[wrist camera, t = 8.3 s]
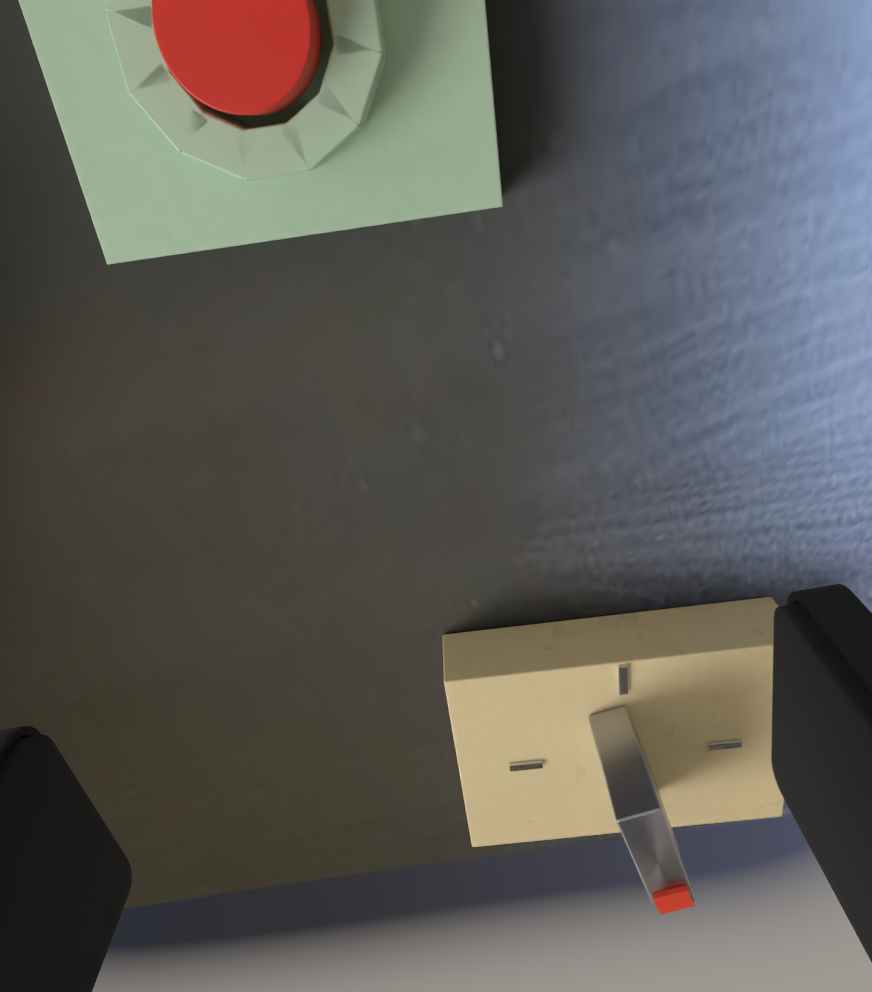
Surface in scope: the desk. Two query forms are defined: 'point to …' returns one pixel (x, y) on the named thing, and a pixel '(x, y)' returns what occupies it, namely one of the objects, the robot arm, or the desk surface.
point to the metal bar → (640, 811)
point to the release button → (240, 50)
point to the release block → (273, 127)
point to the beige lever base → (606, 685)
